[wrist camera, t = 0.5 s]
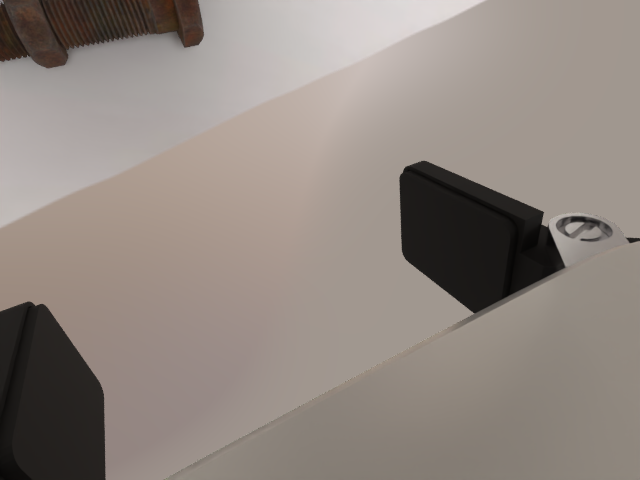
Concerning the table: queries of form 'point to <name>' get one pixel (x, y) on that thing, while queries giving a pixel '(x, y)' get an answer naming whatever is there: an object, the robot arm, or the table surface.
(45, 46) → the bolt
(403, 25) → the table surface
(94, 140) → the table surface
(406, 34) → the table surface
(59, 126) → the table surface
